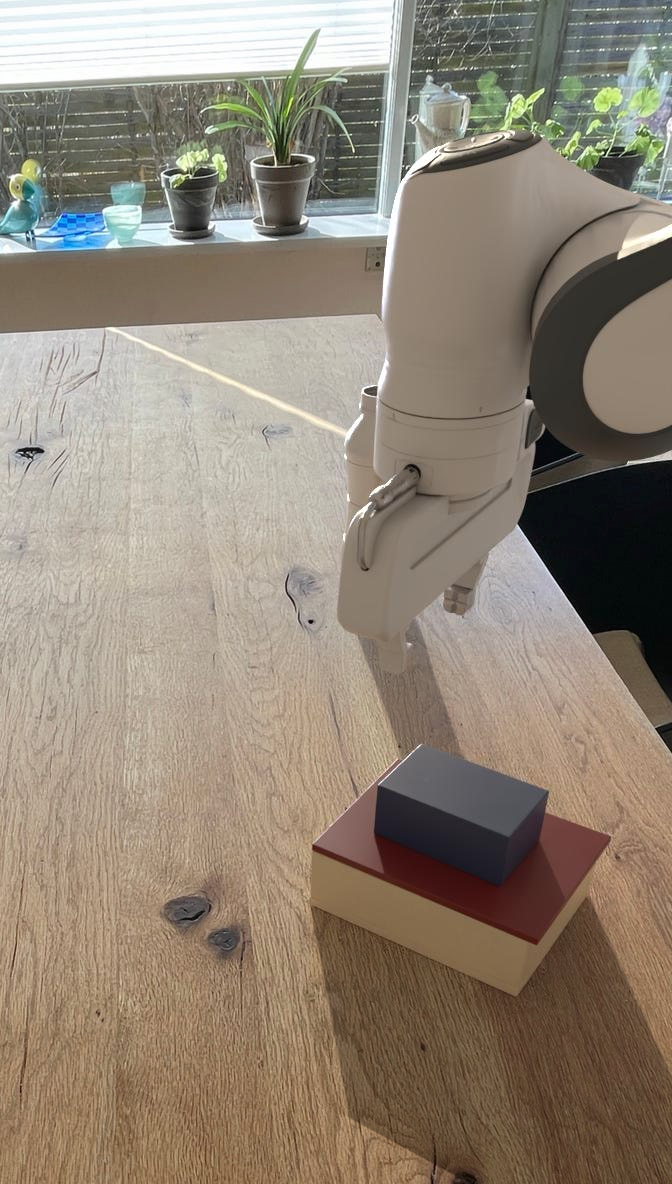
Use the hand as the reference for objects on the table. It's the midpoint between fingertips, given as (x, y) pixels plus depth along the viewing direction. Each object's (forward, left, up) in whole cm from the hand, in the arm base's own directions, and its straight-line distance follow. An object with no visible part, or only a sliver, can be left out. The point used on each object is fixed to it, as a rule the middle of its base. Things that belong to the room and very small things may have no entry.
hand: (427, 638), depth 79 cm
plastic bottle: (+25, -37, -18) cm, 48 cm away
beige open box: (-6, +5, -18) cm, 20 cm away
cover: (-6, +5, -13) cm, 15 cm away
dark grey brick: (-6, +5, -12) cm, 14 cm away
